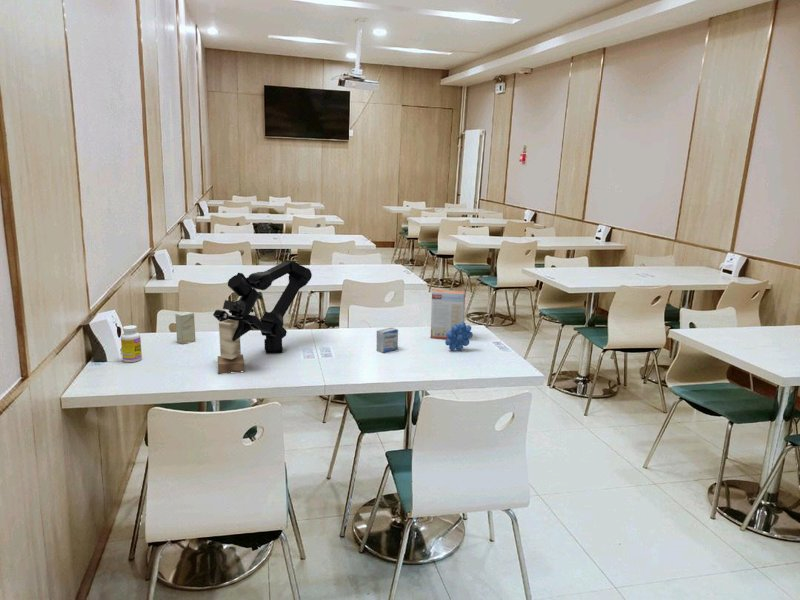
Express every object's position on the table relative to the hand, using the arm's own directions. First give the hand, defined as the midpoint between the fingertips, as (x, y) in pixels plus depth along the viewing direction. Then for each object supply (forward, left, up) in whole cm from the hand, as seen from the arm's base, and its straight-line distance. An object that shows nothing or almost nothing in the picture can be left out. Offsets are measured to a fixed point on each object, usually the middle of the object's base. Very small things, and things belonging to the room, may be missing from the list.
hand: (227, 339), depth 210 cm
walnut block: (-1, -1, -12) cm, 12 cm away
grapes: (-90, -13, -12) cm, 91 cm away
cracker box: (-90, -30, -12) cm, 95 cm away
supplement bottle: (+36, -15, -12) cm, 41 cm away
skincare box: (+20, -36, -12) cm, 43 cm away
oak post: (-1, -1, -7) cm, 7 cm away
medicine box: (-61, -16, -12) cm, 64 cm away
